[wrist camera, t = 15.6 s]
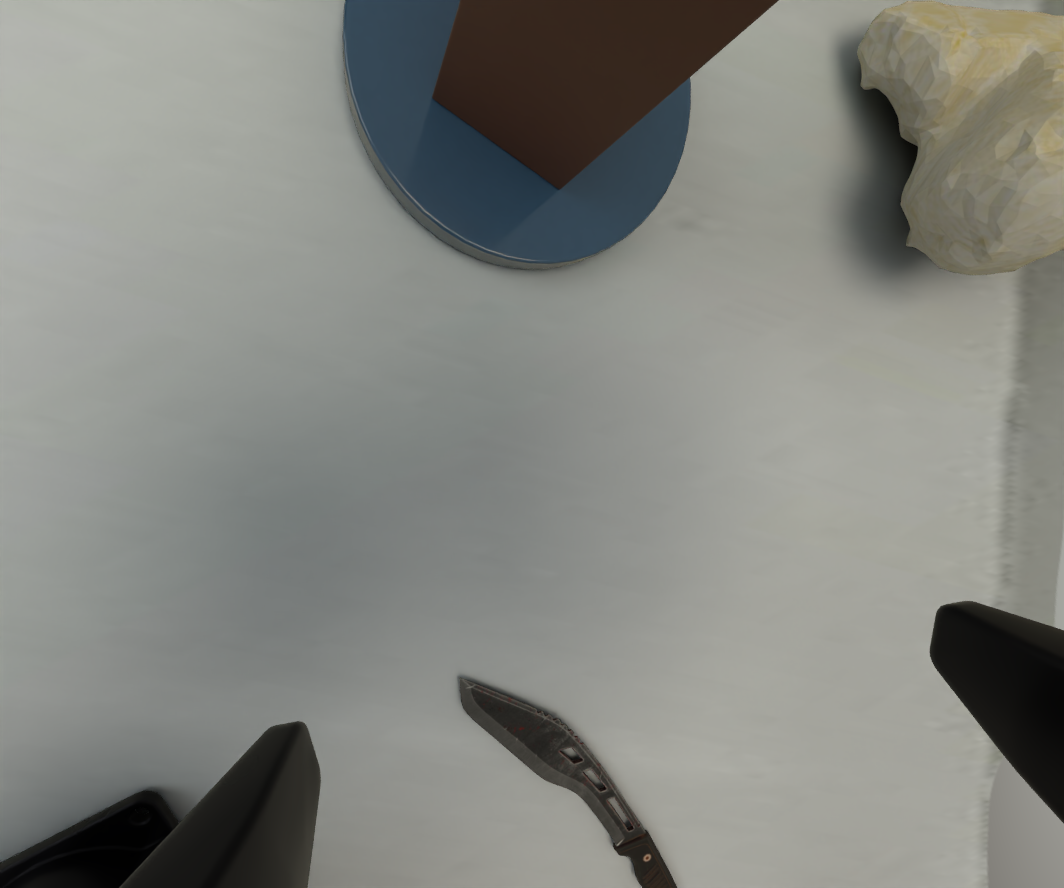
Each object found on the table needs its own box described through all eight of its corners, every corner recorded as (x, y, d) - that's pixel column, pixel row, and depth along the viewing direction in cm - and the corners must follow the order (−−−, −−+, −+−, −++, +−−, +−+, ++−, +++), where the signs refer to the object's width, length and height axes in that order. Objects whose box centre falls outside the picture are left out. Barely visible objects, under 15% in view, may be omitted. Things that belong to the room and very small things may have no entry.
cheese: (739, 239, 23) (1142, 438, 18) (826, 33, 17) (1471, 243, 12) (873, 121, 30) (1190, 239, 25) (967, -54, 24) (1412, 54, 19)
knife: (447, 689, 19) (519, 639, 19) (446, 682, 19) (516, 633, 20) (640, 952, 23) (695, 905, 24) (635, 941, 24) (689, 894, 24)
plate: (429, 315, 18) (434, 311, 16) (276, -73, 15) (270, -109, 14) (706, 216, 20) (727, 207, 19) (617, -128, 18) (635, -162, 16)
